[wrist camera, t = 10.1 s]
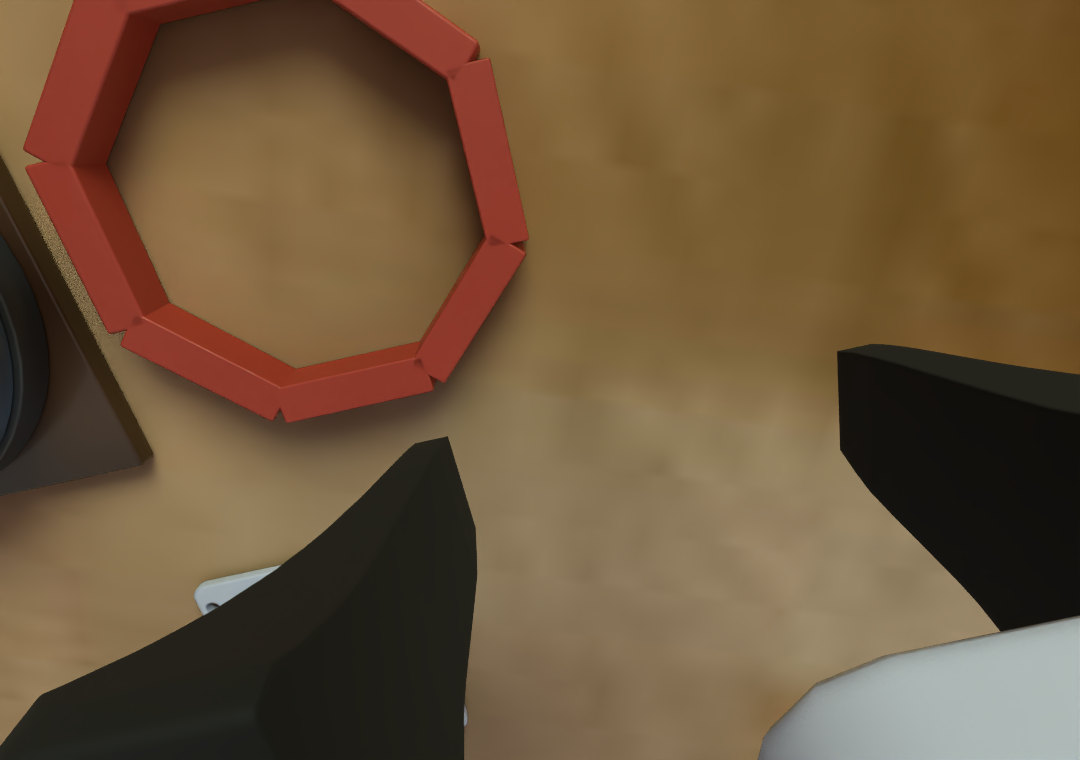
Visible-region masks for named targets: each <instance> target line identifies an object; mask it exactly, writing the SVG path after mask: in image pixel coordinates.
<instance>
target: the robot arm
mask: <svg viewBox="0 0 1080 760" xmlns="http://www.w3.org/2000/svg"><path fill="white" fill-rule="evenodd" d="M837 360H838V392H839V424H840V450H841V452H842V453H843V455H844V456H845V457H846V459H847V460H848V462H849V463H850V465H851V466H852V468H853V469H854V471H855V472H856V473H857V475H858V476H859V477H860V479H861V480H862V481H863V483H864V484H865V485H866V487H867V488H868V489H869V491H870V492H871V493H872V494H873V495H874V496H875V497H876V498H877V499H878V500H879V501H880V502H881V503H882V505H883V506H884V507H885V508H886V509H887V510H888V511H889V512H890V513H891V514H892V515H893V516H894V517H895V518H896V519H897V520H898V521H899V522H900V523H901V524H902V525H903V526H904V527H905V528H906V529H907V530H908V531H909V532H910V533H911V534H912V535H913V536H914V537H915V538H916V539H917V540H918V541H919V542H920V543H921V544H922V545H923V546H924V547H925V548H926V549H927V550H928V551H929V552H930V553H931V554H932V555H933V556H934V557H935V558H936V559H937V560H938V561H939V562H940V564H941V565H942V566H943V567H944V568H945V569H946V570H947V571H948V572H949V573H950V574H951V575H952V576H953V577H954V578H955V579H956V580H957V581H958V582H959V583H960V584H961V585H962V586H963V587H964V588H965V589H966V591H967V592H968V593H969V594H970V595H971V596H972V597H973V598H974V599H975V600H976V602H977V603H978V604H979V605H980V606H981V608H982V609H983V610H984V611H985V613H986V614H987V615H988V616H989V618H990V619H991V620H992V621H993V623H994V624H995V625H996V626H997V628H998V629H999V630H1000V631H1001V632H997V633H992V634H987V635H982V636H978V637H973V638H968V639H963V640H958V641H953V642H948V643H943V644H939V645H934V646H929V647H924V648H919V649H914V650H909V651H904V652H900V653H895V654H890V655H885V656H882V657H879V658H877V659H874V660H872V661H869V662H867V663H864V664H862V665H859V666H857V667H854V668H852V669H849V670H847V671H844V672H842V673H840V674H837V675H835V676H832V677H830V678H827V679H825V680H822V681H820V682H817V683H816V684H815V685H814V686H813V687H812V688H811V689H809V690H808V691H807V692H806V693H805V694H804V695H803V696H802V697H801V698H800V699H799V700H798V701H797V702H796V703H795V704H794V705H793V706H792V707H791V708H790V709H789V710H788V711H787V712H786V713H785V714H784V715H783V716H782V717H781V718H780V719H779V720H778V721H777V722H776V723H775V724H774V725H772V726H771V728H770V729H769V731H768V732H767V733H766V735H765V736H764V738H763V742H762V746H761V750H760V753H759V757H758V760H1080V375H1079V374H1070V373H1063V372H1056V371H1049V370H1042V369H1034V368H1027V367H1021V366H1014V365H1008V364H1002V363H996V362H990V361H984V360H978V359H973V358H967V357H961V356H956V355H950V354H945V353H939V352H933V351H927V350H922V349H916V348H909V347H902V346H894V345H884V344H869V345H865V346H860V347H855V348H851V349H846V350H842V351H837ZM476 582H477V550H476V528H475V525H474V521H473V518H472V515H471V511H470V508H469V505H468V502H467V498H466V495H465V492H464V488H463V485H462V482H461V478H460V475H459V472H458V469H457V465H456V462H455V459H454V455H453V452H452V449H451V446H450V442H449V439H448V436H447V437H443V438H438V439H433V440H429V441H424V442H420V443H415V444H414V445H413V446H412V447H410V448H409V449H408V450H407V451H406V452H405V453H404V454H403V455H402V456H401V457H400V458H399V459H398V460H397V461H396V462H395V463H394V464H393V465H392V466H391V467H390V468H389V469H388V470H387V471H386V472H385V473H384V474H383V475H382V476H381V477H380V479H379V480H378V481H377V482H376V483H375V484H374V485H373V486H372V487H371V488H370V489H369V490H368V491H367V492H366V493H365V494H364V495H363V496H362V497H361V498H360V499H359V500H358V501H357V502H356V503H354V504H353V505H352V506H351V507H350V508H349V509H348V510H347V511H346V512H345V513H344V514H343V515H342V516H340V517H339V518H338V519H337V520H336V521H335V522H334V523H333V524H332V525H331V526H330V527H329V528H328V529H326V530H325V531H324V532H323V533H322V534H321V535H319V536H318V537H317V538H316V539H315V540H313V541H312V542H311V543H310V544H308V545H307V546H306V547H305V548H303V549H302V550H301V551H300V552H298V553H297V554H296V555H294V556H293V557H292V558H290V559H289V560H288V561H286V562H285V563H284V564H282V565H279V566H274V567H269V568H265V569H260V570H255V571H251V572H246V573H241V574H237V575H232V576H227V577H222V578H218V579H213V580H208V581H205V582H203V583H201V584H200V585H199V586H198V588H197V589H196V591H195V593H194V598H195V601H196V603H197V605H198V606H199V608H200V610H201V612H202V614H203V616H202V617H200V618H198V619H196V620H195V621H193V622H191V623H189V624H188V625H186V626H184V627H182V628H180V629H178V630H177V631H175V632H173V633H171V634H169V635H167V636H165V637H163V638H161V639H160V640H158V641H156V642H154V643H152V644H150V645H148V646H146V647H144V648H142V649H140V650H138V651H136V652H134V653H132V654H130V655H128V656H126V657H124V658H121V659H119V660H117V661H115V662H113V663H111V664H108V665H106V666H104V667H102V668H100V669H98V670H95V671H93V672H91V673H89V674H87V675H85V676H82V677H80V678H78V679H76V680H74V681H72V682H69V683H67V684H65V685H63V686H61V687H58V688H56V689H54V690H51V691H49V692H47V693H44V694H42V695H41V696H40V697H39V698H38V699H37V700H36V701H35V702H34V704H33V705H32V706H31V708H30V709H29V710H28V711H27V713H26V714H25V715H24V716H23V718H22V719H21V720H20V722H19V723H18V724H17V725H16V727H15V728H14V729H13V730H12V732H11V733H10V734H9V736H8V737H7V738H6V739H5V741H4V742H3V743H2V744H1V746H0V760H464V726H466V724H467V720H468V713H467V710H466V707H465V688H466V677H467V668H468V658H469V649H470V640H471V630H472V621H473V612H474V602H475V592H476ZM212 603H215V604H218V605H219V607H217V606H214V605H213V604H212Z"/></svg>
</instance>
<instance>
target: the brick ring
mask: <svg viewBox="0 0 1080 760" xmlns="http://www.w3.org/2000/svg"><path fill="white" fill-rule="evenodd" d="M256 1H260V0H74V2H73V4H72V7H71V10H70V13H69V16H68V19H67V22H66V25H65V28H64V31H63V34H62V36H61V39H60V42H59V45H58V48H57V51H56V54H55V57H54V60H53V63H52V66H51V68H50V71H49V74H48V77H47V80H46V83H45V86H44V89H43V92H42V95H41V98H40V101H39V103H38V106H37V109H36V112H35V115H34V118H33V121H32V124H31V127H30V130H29V133H28V135H27V138H26V141H25V144H24V147H23V149H24V150H25V151H26V152H28V153H29V154H31V155H33V156H35V157H37V158H38V159H40V160H42V161H44V162H41V163H36V164H32V165H28V166H26V167H25V169H26V171H27V173H28V175H29V177H30V179H31V181H32V183H33V185H34V187H35V189H36V191H37V193H38V195H39V197H40V199H41V201H42V203H43V205H44V207H45V209H46V211H47V213H48V215H49V217H50V219H51V221H52V223H53V225H54V227H55V229H56V231H57V233H58V235H59V237H60V239H61V241H62V243H63V245H64V247H65V249H66V251H67V253H68V255H69V257H70V259H71V261H72V263H73V265H74V267H75V269H76V271H77V273H78V275H79V277H80V279H81V281H82V283H83V284H84V286H85V288H86V290H87V292H88V294H89V296H90V298H91V300H92V302H93V304H94V306H95V308H96V310H97V312H98V314H99V316H100V318H101V320H102V322H103V324H104V326H105V328H106V330H107V332H108V333H109V334H113V333H118V332H122V331H126V333H125V335H124V337H123V340H122V342H121V346H122V347H123V348H126V349H128V350H130V351H132V352H134V353H136V354H138V355H140V356H142V357H144V358H146V359H148V360H150V361H152V362H154V363H156V364H158V365H160V366H162V367H164V368H166V369H168V370H170V371H172V372H174V373H176V374H178V375H180V376H182V377H184V378H186V379H188V380H190V381H192V382H194V383H196V384H198V385H200V386H202V387H204V388H206V389H208V390H210V391H212V392H214V393H216V394H218V395H220V396H222V397H224V398H226V399H228V400H230V401H232V402H234V403H236V404H238V405H240V406H242V407H244V408H246V409H248V410H250V411H252V412H254V413H256V414H258V415H260V416H262V417H264V418H266V419H268V420H270V421H273V420H274V419H275V418H276V416H277V415H278V414H279V413H280V411H281V412H282V414H283V416H284V419H285V421H286V423H290V422H295V421H299V420H304V419H308V418H313V417H317V416H322V415H326V414H331V413H335V412H340V411H345V410H349V409H354V408H358V407H363V406H367V405H372V404H376V403H381V402H385V401H390V400H394V399H399V398H404V397H408V396H413V395H417V394H422V393H426V392H431V391H433V390H434V386H435V382H436V379H437V380H439V381H441V382H442V383H445V382H446V380H447V379H448V377H449V376H450V374H451V373H452V371H453V369H454V368H455V366H456V365H457V363H458V362H459V360H460V358H461V357H462V355H463V354H464V352H465V351H466V349H467V347H468V346H469V344H470V343H471V341H472V339H473V338H474V336H475V335H476V333H477V332H478V330H479V328H480V327H481V325H482V324H483V322H484V321H485V319H486V317H487V316H488V314H489V313H490V311H491V310H492V308H493V306H494V305H495V303H496V302H497V300H498V298H499V297H500V295H501V294H502V292H503V291H504V289H505V287H506V286H507V284H508V283H509V281H510V280H511V278H512V276H513V275H514V273H515V272H516V270H517V269H518V267H519V265H520V264H521V262H522V261H523V259H524V257H525V256H526V252H525V247H524V244H523V243H522V242H521V241H526V240H528V239H529V236H528V231H527V227H526V222H525V217H524V213H523V208H522V204H521V199H520V194H519V190H518V185H517V181H516V176H515V171H514V167H513V162H512V158H511V153H510V148H509V144H508V139H507V135H506V130H505V125H504V121H503V116H502V112H501V107H500V102H499V98H498V93H497V89H496V84H495V79H494V75H493V70H492V66H491V61H490V59H489V58H485V59H480V60H476V59H477V57H478V55H479V53H480V46H479V43H478V41H477V40H476V39H474V38H473V37H472V36H470V35H469V34H467V33H466V32H465V31H463V30H462V29H460V28H459V27H458V26H456V25H455V24H454V23H452V22H451V21H449V20H448V19H447V18H445V17H444V16H442V15H441V14H440V13H438V12H437V11H435V10H434V9H433V8H431V7H430V6H429V5H427V4H426V3H424V2H423V1H422V0H331V1H332V2H334V3H335V4H337V5H338V6H340V7H341V8H342V9H344V10H345V11H347V12H348V13H350V14H351V15H353V16H354V17H355V18H357V19H358V20H360V21H361V22H363V23H364V24H366V25H367V26H368V27H370V28H371V29H373V30H374V31H376V32H377V33H379V34H380V35H382V36H383V37H384V38H386V39H387V40H389V41H390V42H392V43H393V44H395V45H396V46H397V47H399V48H400V49H402V50H403V51H405V52H406V53H408V54H409V55H410V56H412V57H413V58H415V59H416V60H418V61H419V62H421V63H422V64H423V65H425V66H426V67H428V68H429V69H431V70H432V71H434V72H435V73H436V74H438V75H439V76H441V77H442V78H444V79H445V80H447V83H448V87H449V91H450V96H451V100H452V104H453V108H454V112H455V116H456V120H457V124H458V128H459V132H460V136H461V141H462V145H463V149H464V153H465V157H466V161H467V165H468V169H469V173H470V177H471V182H472V186H473V190H474V194H475V198H476V202H477V206H478V210H479V214H480V218H481V222H482V227H483V231H484V236H483V238H482V240H481V241H480V243H479V245H478V246H477V248H476V250H475V251H474V253H473V255H472V256H471V258H470V260H469V261H468V263H467V265H466V266H465V268H464V270H463V271H462V273H461V274H460V276H459V278H458V279H457V281H456V283H455V284H454V286H453V288H452V289H451V291H450V293H449V294H448V296H447V298H446V299H445V301H444V303H443V304H442V306H441V308H440V309H439V311H438V312H437V314H436V316H435V317H434V319H433V321H432V322H431V324H430V326H429V327H428V329H427V331H426V332H425V334H424V336H423V337H422V339H421V341H420V342H415V343H411V344H406V345H402V346H397V347H393V348H388V349H384V350H379V351H375V352H370V353H366V354H361V355H357V356H352V357H348V358H343V359H339V360H334V361H330V362H325V363H321V364H316V365H312V366H307V367H303V368H298V369H295V368H293V367H291V366H289V365H287V364H285V363H283V362H282V361H280V360H278V359H276V358H274V357H272V356H270V355H268V354H266V353H264V352H262V351H261V350H259V349H257V348H255V347H253V346H251V345H249V344H247V343H245V342H243V341H241V340H240V339H238V338H236V337H234V336H232V335H230V334H228V333H226V332H224V331H222V330H220V329H219V328H217V327H215V326H213V325H211V324H209V323H207V322H205V321H203V320H201V319H200V318H198V317H196V316H194V315H192V314H190V313H188V312H186V311H184V310H182V309H180V308H179V307H177V306H175V305H173V304H171V303H169V301H168V298H167V296H166V294H165V292H164V290H163V287H162V285H161V283H160V281H159V279H158V276H157V274H156V272H155V270H154V268H153V265H152V263H151V261H150V259H149V257H148V254H147V252H146V250H145V248H144V246H143V243H142V241H141V239H140V237H139V235H138V232H137V230H136V228H135V226H134V224H133V221H132V219H131V217H130V215H129V213H128V210H127V208H126V206H125V204H124V202H123V199H122V197H121V195H120V193H119V191H118V189H117V186H116V184H115V182H114V180H113V178H112V175H111V173H110V171H109V169H108V167H107V164H106V162H107V160H108V157H109V155H110V152H111V150H112V147H113V144H114V142H115V139H116V137H117V134H118V132H119V129H120V126H121V124H122V121H123V119H124V116H125V114H126V111H127V108H128V106H129V103H130V101H131V98H132V96H133V93H134V90H135V88H136V85H137V83H138V80H139V78H140V75H141V72H142V70H143V67H144V65H145V62H146V60H147V57H148V54H149V52H150V49H151V47H152V44H153V42H154V39H155V36H156V34H157V31H158V29H159V26H160V24H163V23H168V22H172V21H176V20H180V19H184V18H189V17H193V16H197V15H201V14H205V13H209V12H214V11H218V10H222V9H226V8H230V7H235V6H239V5H243V4H247V3H251V2H256ZM475 60H476V61H475Z"/></svg>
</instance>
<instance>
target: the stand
mask: <svg viewBox="0 0 1080 760" xmlns="http://www.w3.org/2000/svg"><path fill="white" fill-rule="evenodd" d="M152 455H153V452H152V450H151V448H150V446H149V444H148V442H147V440H146V439H145V437H144V435H143V433H142V431H141V429H140V427H139V425H138V423H137V421H136V419H135V417H134V415H133V413H132V411H131V409H130V407H129V405H128V404H127V402H126V400H125V398H124V396H123V394H122V392H121V390H120V388H119V386H118V384H117V382H116V380H115V378H114V376H113V374H112V372H111V370H110V369H109V367H108V365H107V363H106V361H105V359H104V357H103V355H102V353H101V351H100V349H99V347H98V345H97V343H96V341H95V339H94V337H93V335H92V334H91V332H90V330H89V328H88V326H87V324H86V322H85V320H84V318H83V316H82V314H81V312H80V310H79V308H78V306H77V304H76V302H75V300H74V299H73V297H72V295H71V293H70V291H69V289H68V287H67V285H66V283H65V281H64V279H63V277H62V275H61V273H60V271H59V269H58V267H57V265H56V264H55V262H54V260H53V258H52V256H51V254H50V252H49V250H48V248H47V246H46V244H45V242H44V240H43V238H42V236H41V234H40V232H39V231H38V229H37V227H36V225H35V223H34V221H33V219H32V217H31V215H30V213H29V211H28V209H27V207H26V205H25V203H24V201H23V199H22V197H21V196H20V194H19V192H18V190H17V188H16V186H15V184H14V182H13V180H12V178H11V176H10V174H9V172H8V170H7V168H6V166H5V164H4V162H3V161H2V159H1V157H0V496H3V495H8V494H12V493H17V492H22V491H26V490H31V489H35V488H40V487H44V486H49V485H53V484H58V483H63V482H67V481H72V480H76V479H81V478H85V477H90V476H95V475H99V474H104V473H108V472H113V471H117V470H122V469H126V468H131V467H136V466H140V465H142V464H144V463H145V462H146V461H147V460H148V459H149V458H150V457H151V456H152Z"/></svg>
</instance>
